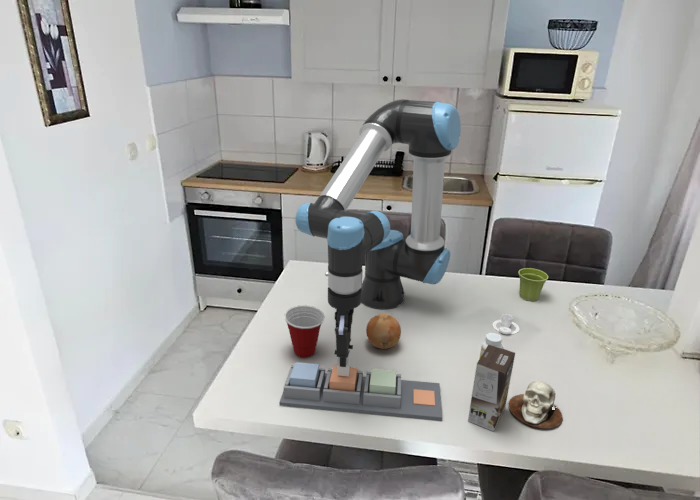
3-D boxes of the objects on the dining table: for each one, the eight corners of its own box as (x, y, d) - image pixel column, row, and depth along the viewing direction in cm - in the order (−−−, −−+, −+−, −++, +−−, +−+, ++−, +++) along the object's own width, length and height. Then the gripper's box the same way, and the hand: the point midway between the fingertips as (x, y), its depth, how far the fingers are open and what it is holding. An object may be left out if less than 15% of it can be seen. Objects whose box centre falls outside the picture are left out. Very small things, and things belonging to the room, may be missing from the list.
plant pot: (527, 287, 171) (531, 265, 167) (549, 299, 163) (554, 276, 160) (508, 294, 166) (512, 271, 162) (531, 306, 159) (535, 283, 155)
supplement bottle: (481, 373, 127) (485, 342, 123) (476, 360, 132) (480, 331, 128) (501, 373, 127) (507, 343, 123) (496, 361, 132) (501, 331, 128)
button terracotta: (357, 377, 120) (357, 367, 119) (354, 393, 115) (354, 383, 113) (333, 375, 121) (333, 365, 119) (329, 391, 115) (329, 381, 114)
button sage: (395, 380, 119) (396, 370, 118) (394, 397, 114) (395, 387, 112) (371, 378, 120) (371, 368, 118) (369, 394, 114) (369, 384, 113)
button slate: (319, 374, 121) (319, 364, 120) (314, 390, 116) (314, 379, 114) (295, 372, 122) (295, 362, 120) (290, 387, 116) (289, 377, 115)
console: (439, 386, 122) (440, 373, 120) (441, 420, 111) (443, 407, 109) (290, 373, 126) (290, 360, 124) (279, 405, 115) (278, 392, 113)
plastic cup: (314, 368, 128) (314, 329, 123) (278, 358, 131) (276, 320, 127) (331, 345, 137) (331, 309, 132) (297, 337, 141) (295, 301, 136)
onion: (393, 333, 143) (395, 304, 139) (404, 353, 134) (407, 322, 130) (361, 337, 141) (362, 308, 137) (371, 358, 132) (372, 327, 128)
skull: (558, 437, 106) (532, 397, 106) (519, 444, 113) (495, 405, 114) (574, 406, 114) (550, 369, 115) (537, 414, 121) (515, 378, 122)
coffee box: (494, 432, 108) (505, 374, 101) (466, 421, 111) (475, 363, 105) (506, 408, 115) (516, 352, 109) (479, 398, 118) (488, 343, 112)
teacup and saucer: (508, 339, 142) (510, 327, 140) (485, 328, 147) (487, 316, 146) (524, 328, 147) (526, 317, 146) (501, 318, 153) (503, 306, 151)
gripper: (332, 272, 113) (331, 356, 122) (323, 300, 101) (323, 390, 111) (364, 275, 112) (361, 359, 122) (358, 303, 100) (356, 393, 110)
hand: (343, 374), depth 116 cm, fingers closed
